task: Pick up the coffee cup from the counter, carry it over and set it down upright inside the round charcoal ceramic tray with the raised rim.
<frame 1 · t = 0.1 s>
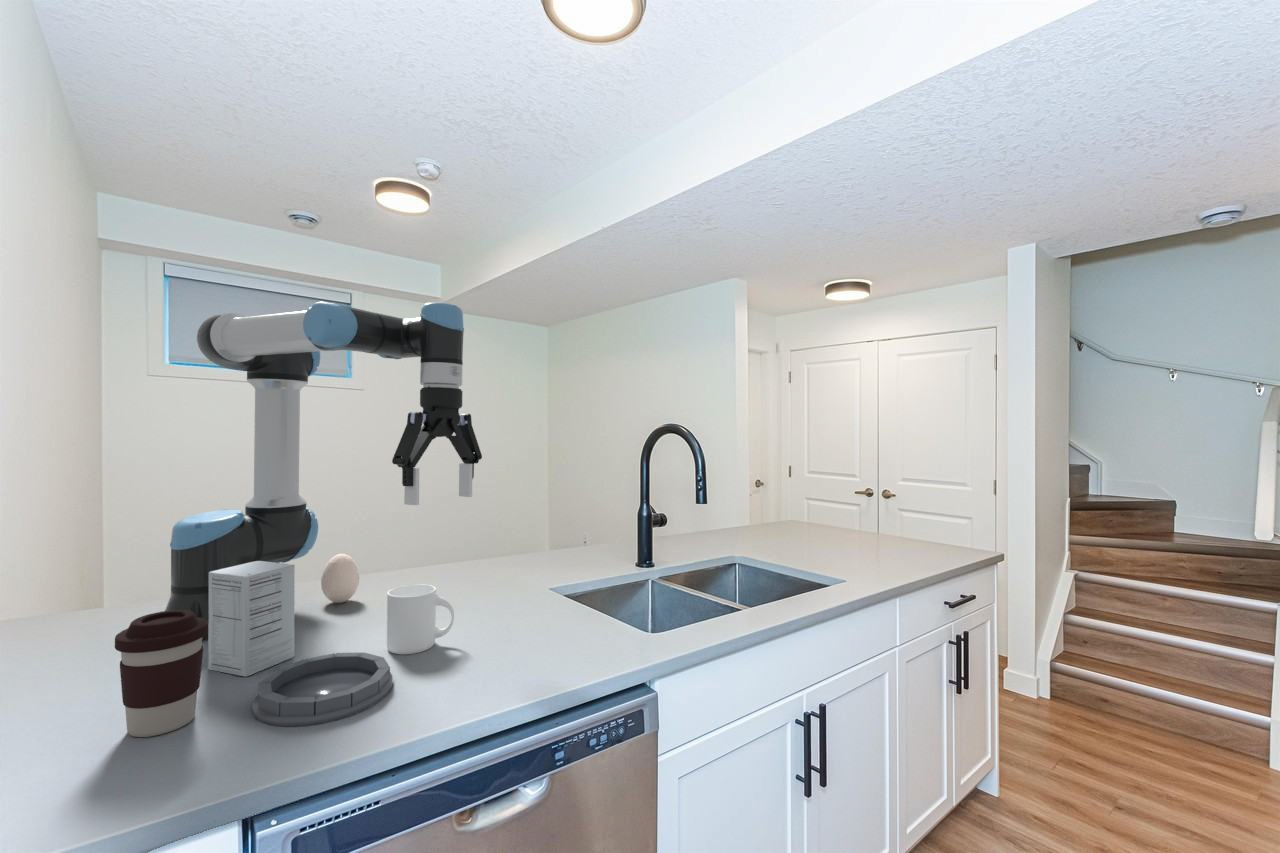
hand: (440, 500, 107), 28 cm above the worktop, fingers open, 13 cm apart
mug: (420, 647, 109), on the worktop
egg: (340, 603, 134), on the worktop
coffee cup: (162, 726, 79), on the worktop
supplement box: (252, 664, 100), on the worktop
tray: (326, 694, 89), on the worktop
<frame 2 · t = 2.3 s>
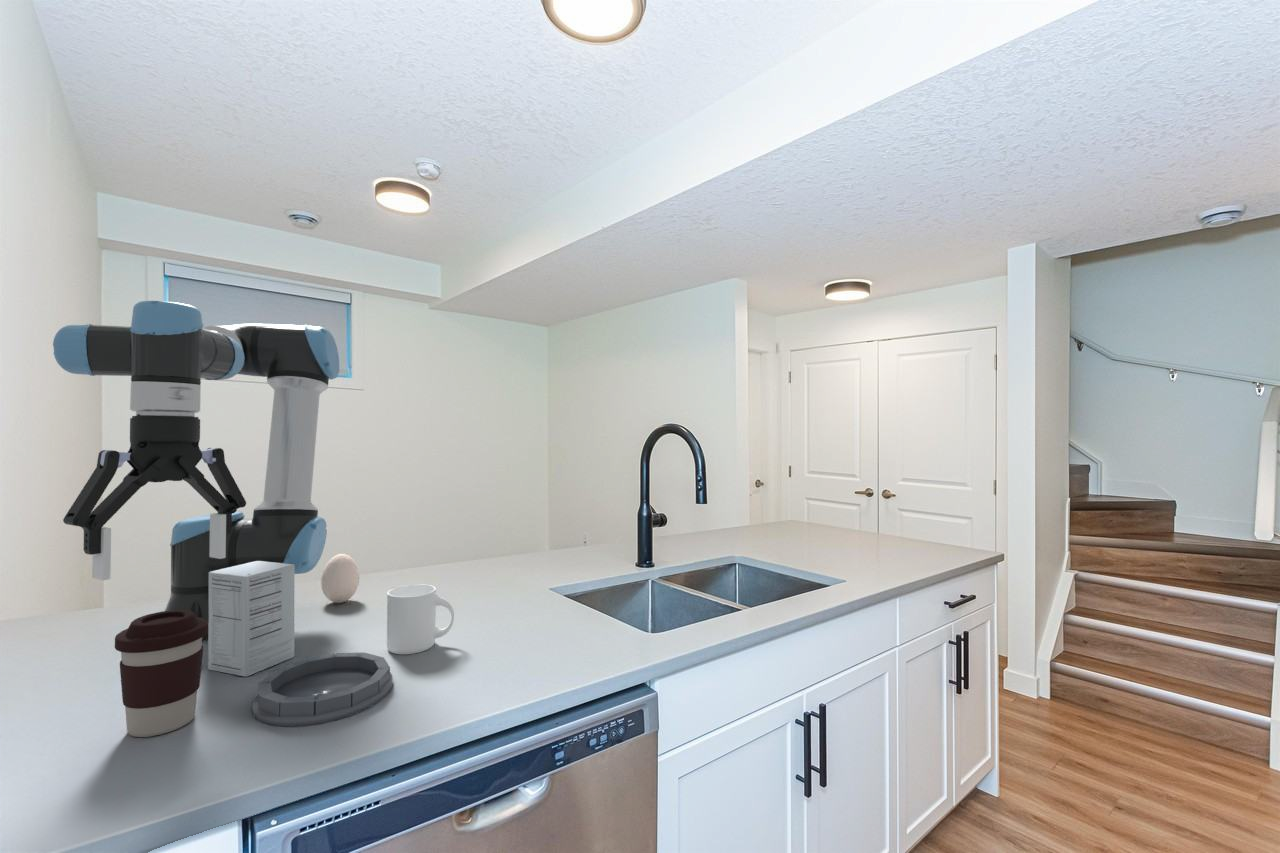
hand: (163, 567, 79), 22 cm above the worktop, fingers open, 13 cm apart
nothing on the worktop moved.
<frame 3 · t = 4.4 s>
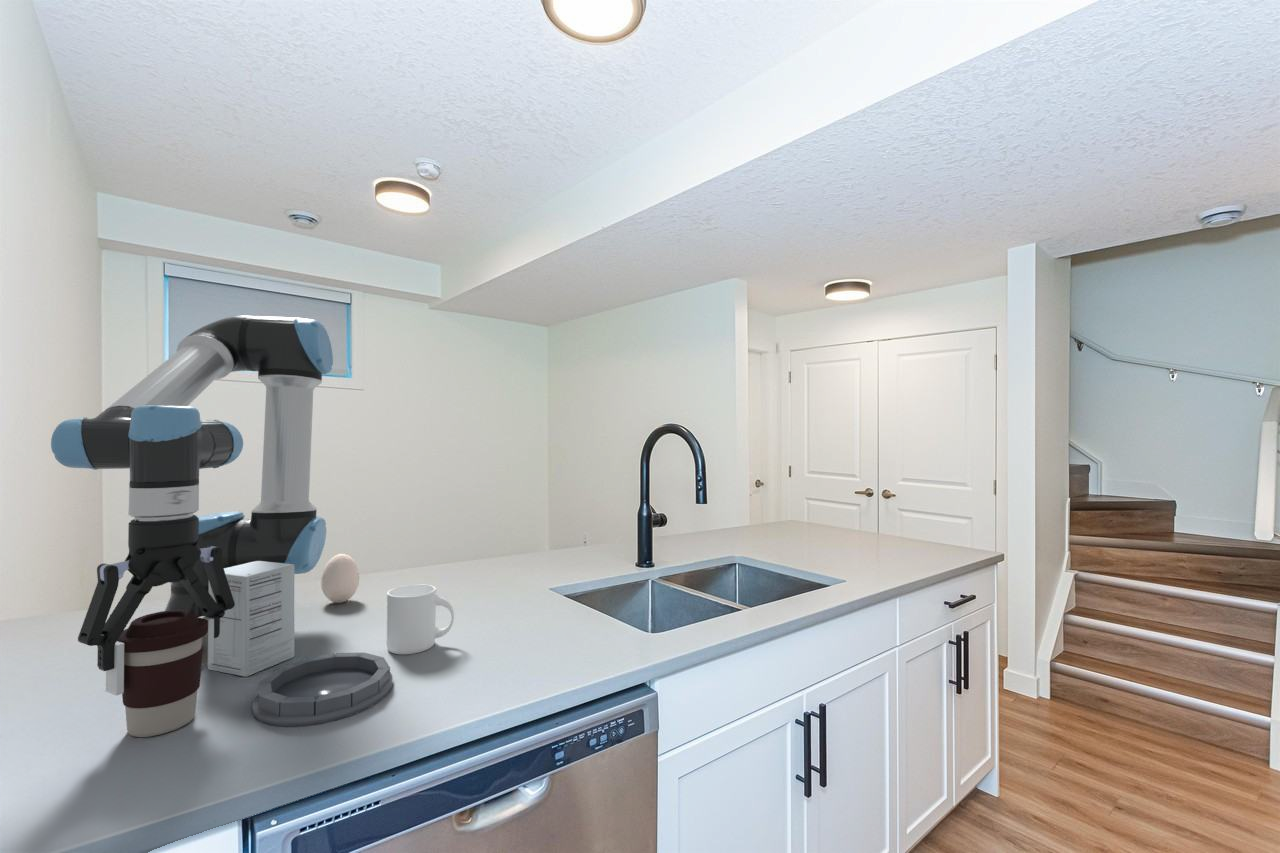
hand: (162, 676, 79), 7 cm above the worktop, fingers closed on coffee cup, 10 cm apart
coffee cup: (162, 726, 79), on the worktop, touching gripper
everything else where it was.
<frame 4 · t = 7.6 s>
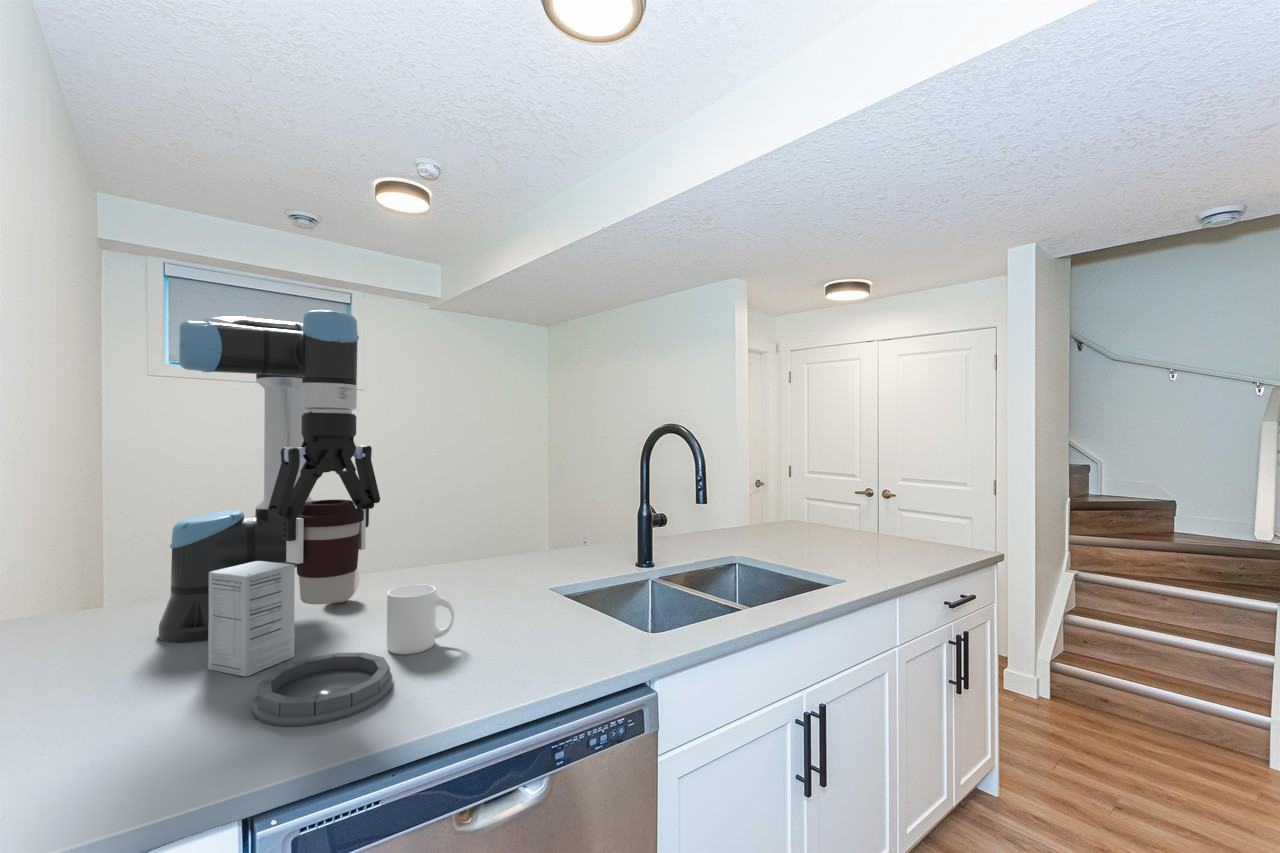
hand: (327, 555, 89), 22 cm above the worktop, fingers closed on coffee cup, 10 cm apart
coffee cup: (327, 599, 89), point 15 cm above the worktop, touching gripper
everything else where it was.
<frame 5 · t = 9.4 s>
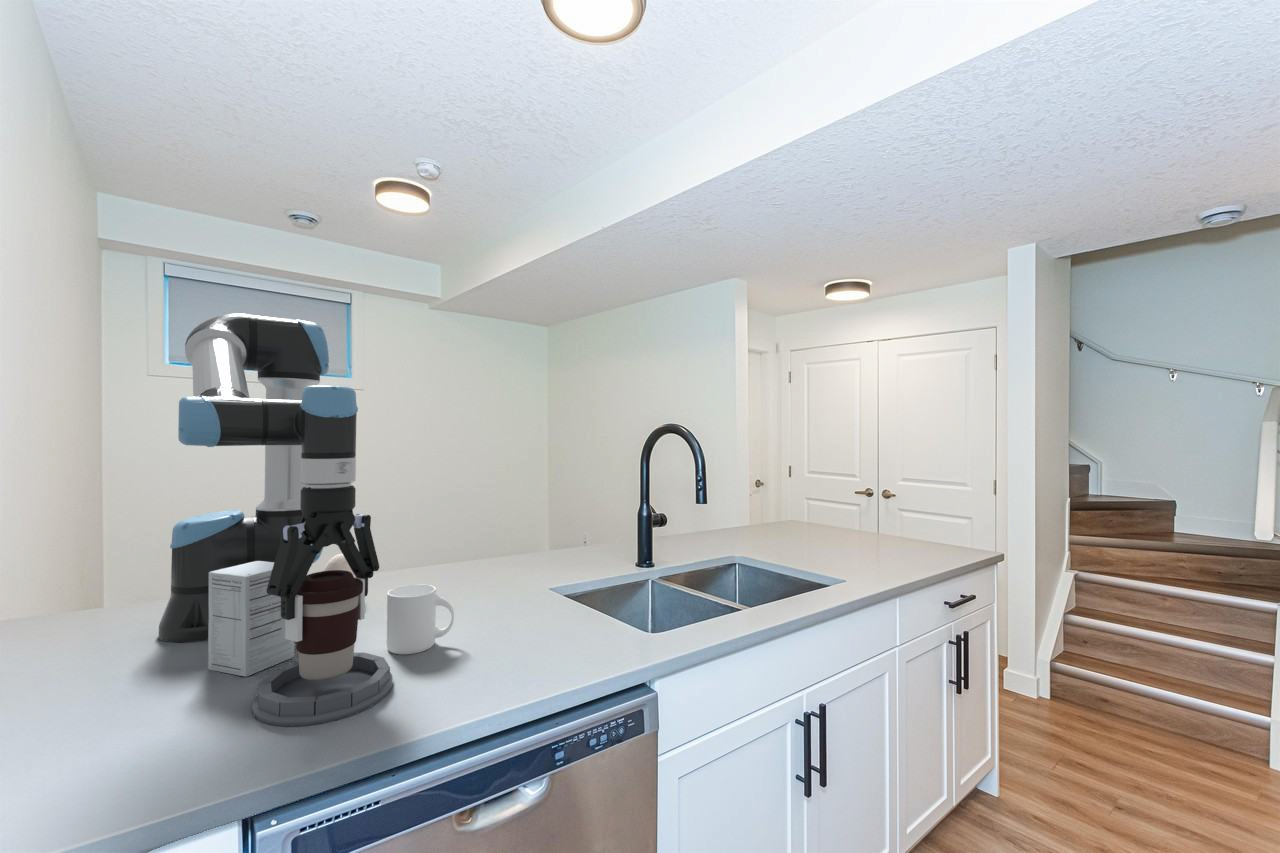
hand: (326, 628, 89), 10 cm above the worktop, fingers closed on coffee cup, 10 cm apart
coffee cup: (326, 672, 89), point 3 cm above the worktop, touching gripper
everything else where it was.
when the fingers open (9 cm above the worktop, at t = 10.7 s): coffee cup drops 1 cm, resting on tray.
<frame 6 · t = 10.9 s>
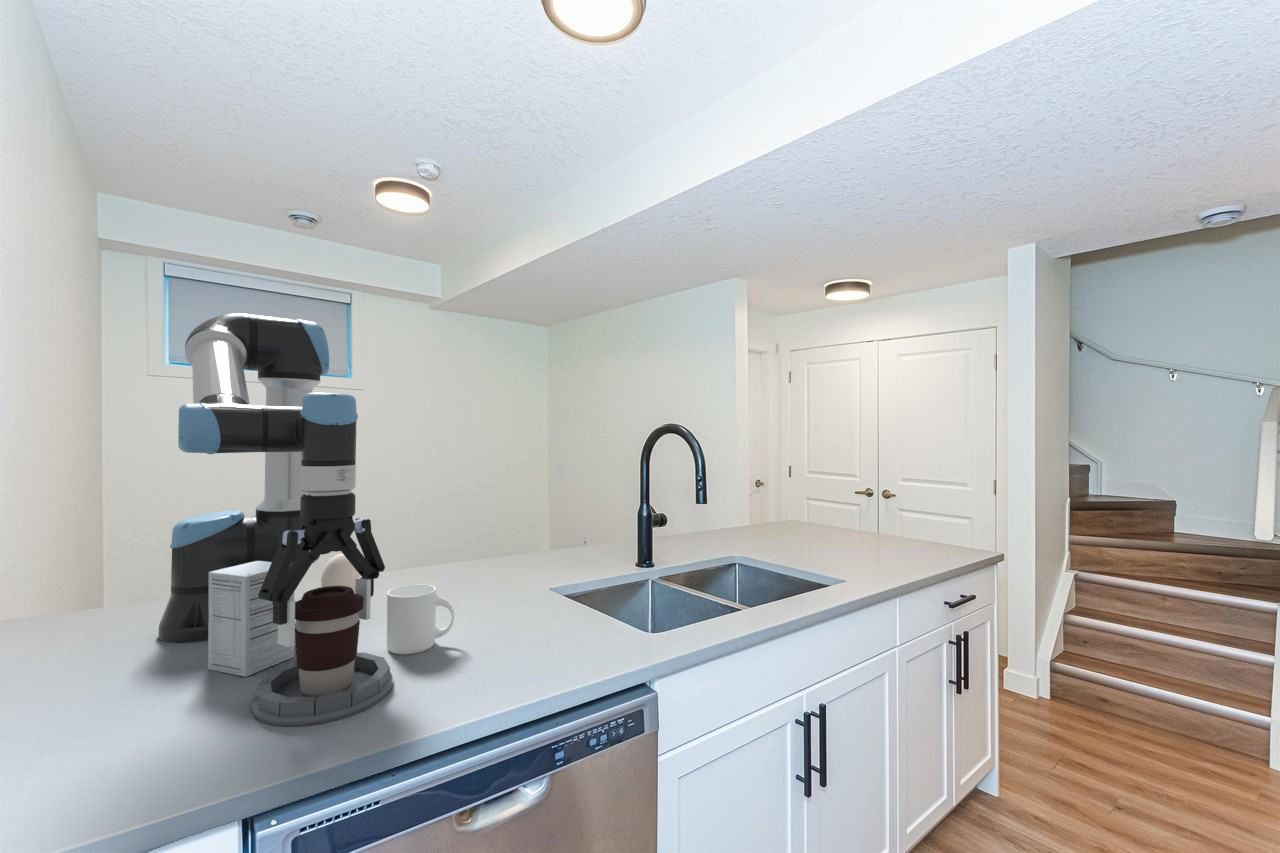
hand: (326, 630, 89), 10 cm above the worktop, fingers open, 12 cm apart
coffee cup: (327, 688, 89), point 1 cm above the worktop, touching tray
everything else where it was.
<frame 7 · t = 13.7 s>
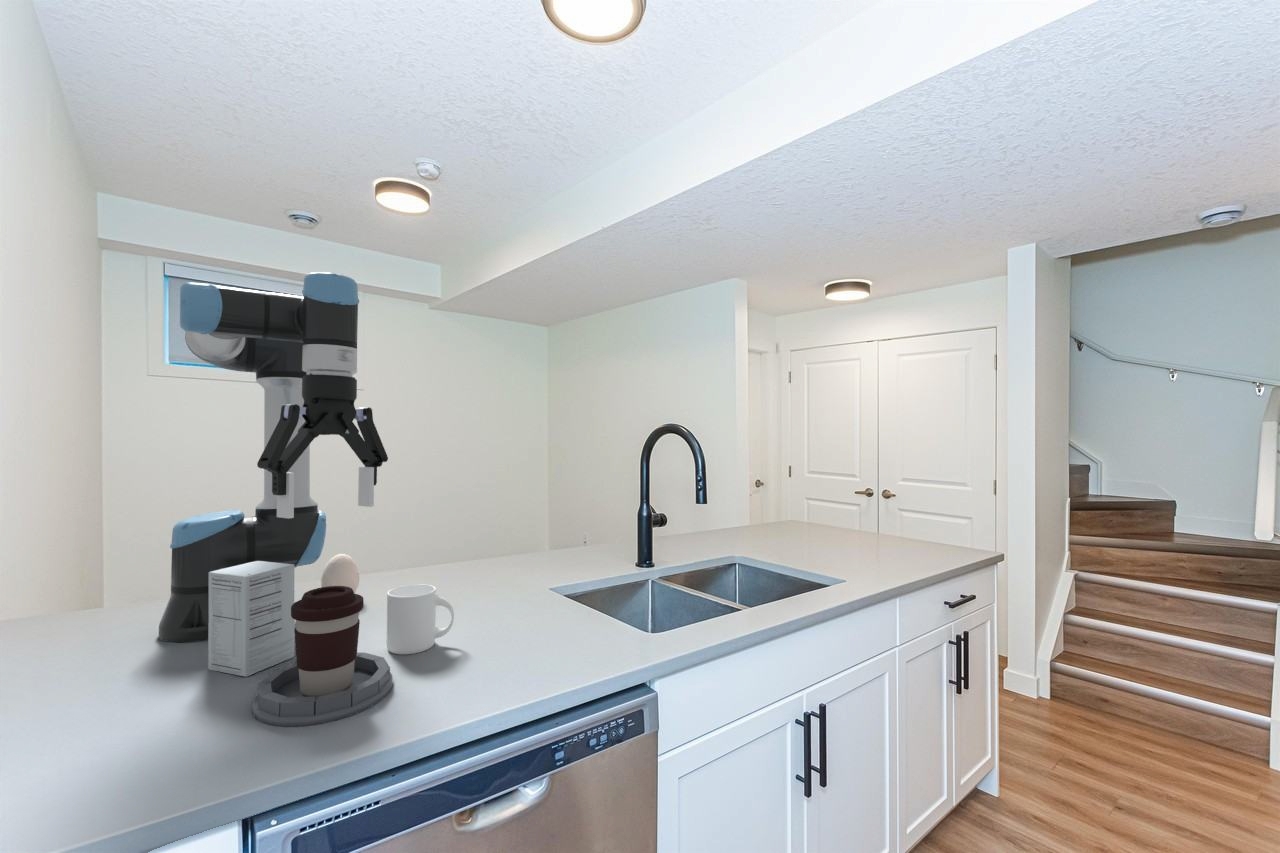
hand: (328, 511, 89), 28 cm above the worktop, fingers open, 13 cm apart
nothing on the worktop moved.
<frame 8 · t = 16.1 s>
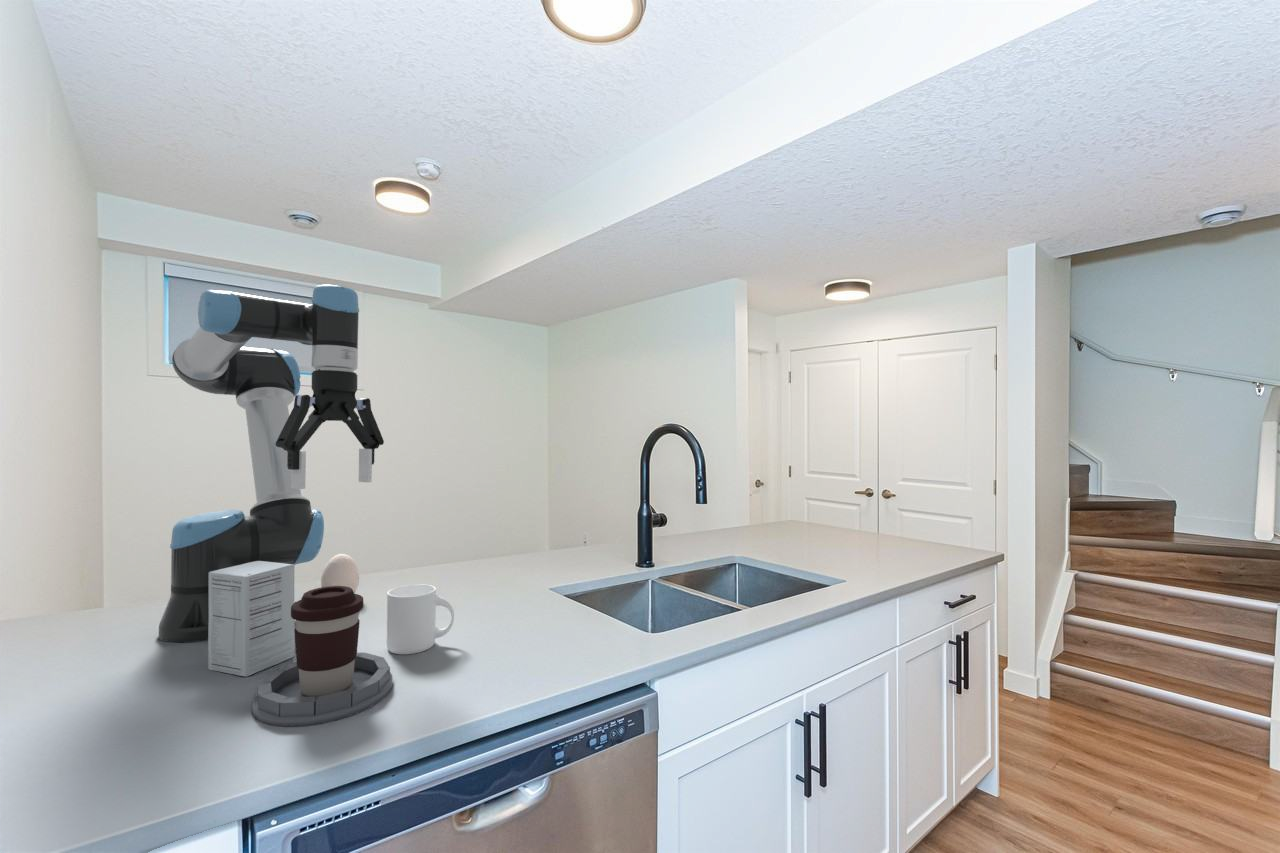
hand: (333, 485, 106), 31 cm above the worktop, fingers open, 13 cm apart
nothing on the worktop moved.
at the end: coffee cup 0.2 cm from the tray (horizontally); coffee cup tilted 0°; the gripper is holding nothing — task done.
